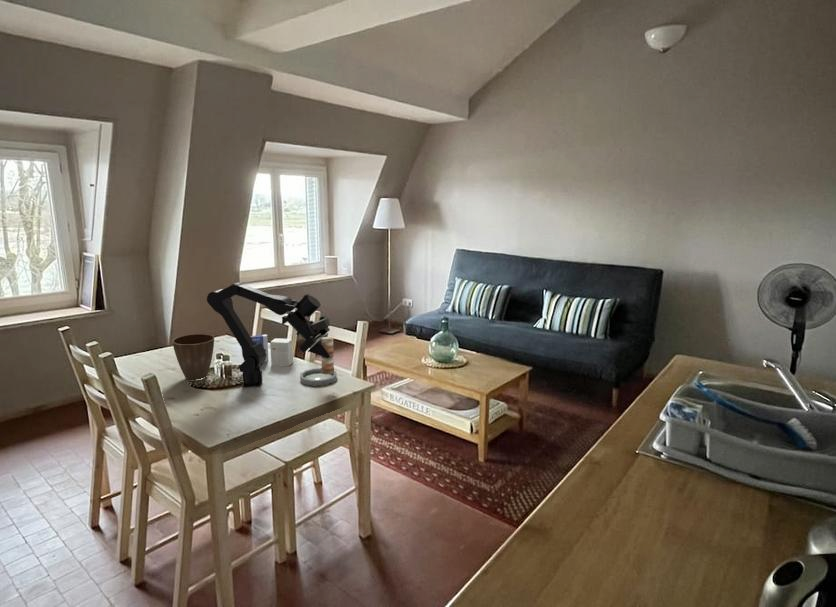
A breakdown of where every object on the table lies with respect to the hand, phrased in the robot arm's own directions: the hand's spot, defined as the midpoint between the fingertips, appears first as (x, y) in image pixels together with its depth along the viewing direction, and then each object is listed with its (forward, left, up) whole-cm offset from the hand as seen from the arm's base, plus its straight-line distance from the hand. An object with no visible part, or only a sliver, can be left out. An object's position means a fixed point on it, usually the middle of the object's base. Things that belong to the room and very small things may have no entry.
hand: (331, 355), depth 181 cm
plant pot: (-52, +21, -14) cm, 57 cm away
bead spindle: (-1, 0, -7) cm, 7 cm away
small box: (-20, +33, -14) cm, 40 cm away
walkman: (-30, +37, -14) cm, 49 cm away
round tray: (-5, +12, -13) cm, 18 cm away
